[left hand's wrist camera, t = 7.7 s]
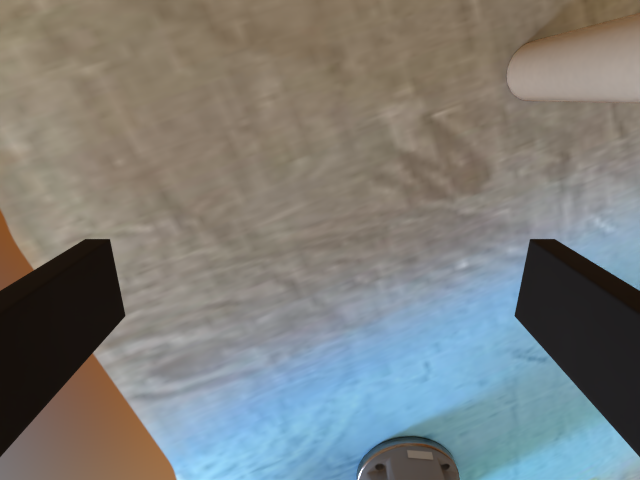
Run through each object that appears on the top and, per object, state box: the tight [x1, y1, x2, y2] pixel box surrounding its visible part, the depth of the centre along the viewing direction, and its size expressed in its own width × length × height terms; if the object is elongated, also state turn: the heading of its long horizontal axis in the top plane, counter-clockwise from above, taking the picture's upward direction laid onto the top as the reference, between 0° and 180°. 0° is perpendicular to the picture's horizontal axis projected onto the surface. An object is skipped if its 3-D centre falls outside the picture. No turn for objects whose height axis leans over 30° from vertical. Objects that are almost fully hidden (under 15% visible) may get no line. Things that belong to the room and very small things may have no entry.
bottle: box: [507, 13, 640, 103], centre depth 28 cm, size 6×6×25 cm
